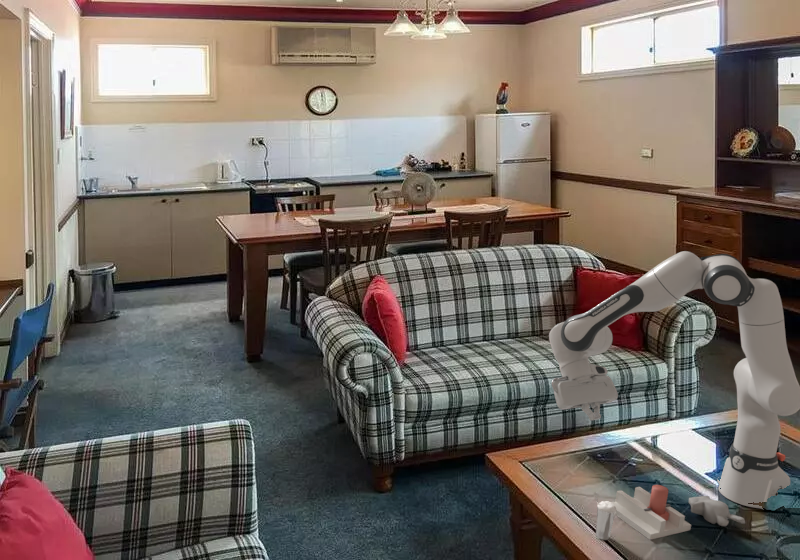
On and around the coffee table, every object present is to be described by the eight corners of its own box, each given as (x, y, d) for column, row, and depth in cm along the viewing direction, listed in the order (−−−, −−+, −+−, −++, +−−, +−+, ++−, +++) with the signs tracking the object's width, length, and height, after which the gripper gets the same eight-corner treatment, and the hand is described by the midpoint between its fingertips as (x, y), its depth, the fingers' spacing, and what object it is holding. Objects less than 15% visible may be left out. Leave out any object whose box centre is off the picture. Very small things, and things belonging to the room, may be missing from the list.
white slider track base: (645, 499, 206) (647, 484, 205) (690, 530, 192) (693, 513, 191) (606, 508, 200) (608, 491, 199) (649, 539, 186) (652, 522, 185)
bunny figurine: (709, 490, 207) (750, 512, 193) (707, 507, 207) (748, 531, 193) (681, 493, 204) (720, 515, 189) (679, 511, 204) (719, 534, 190)
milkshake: (592, 528, 189) (598, 492, 187) (613, 535, 187) (619, 499, 184) (587, 536, 185) (593, 499, 183) (609, 543, 183) (615, 506, 181)
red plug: (655, 511, 196) (660, 483, 195) (668, 520, 193) (673, 491, 191) (642, 514, 194) (647, 485, 193) (655, 523, 191) (660, 493, 189)
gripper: (555, 374, 213) (573, 419, 207) (610, 367, 222) (629, 410, 216) (544, 383, 218) (561, 428, 211) (598, 376, 227) (616, 418, 221)
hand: (595, 419), depth 214 cm, fingers closed
